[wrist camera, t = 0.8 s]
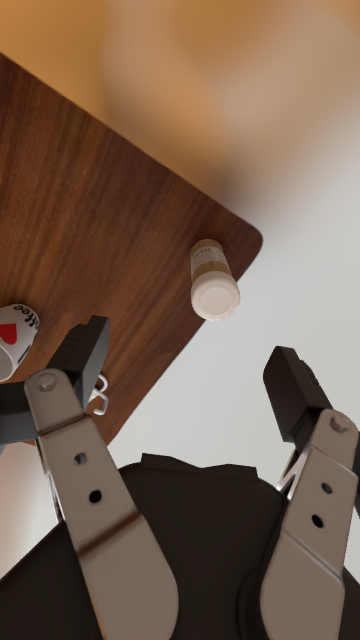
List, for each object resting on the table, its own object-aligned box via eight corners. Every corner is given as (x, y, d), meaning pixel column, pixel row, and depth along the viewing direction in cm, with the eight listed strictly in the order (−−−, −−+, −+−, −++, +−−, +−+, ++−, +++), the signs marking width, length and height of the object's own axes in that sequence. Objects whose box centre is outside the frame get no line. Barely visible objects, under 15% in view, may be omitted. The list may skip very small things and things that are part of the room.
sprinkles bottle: (193, 273, 37) (195, 325, 26) (187, 241, 35) (187, 283, 23) (225, 267, 37) (243, 318, 25) (221, 234, 34) (239, 274, 23)
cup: (57, 334, 43) (26, 378, 35) (13, 341, 44) (-28, 385, 36) (33, 290, 39) (-9, 328, 31) (-15, 299, 40) (-69, 338, 32)
